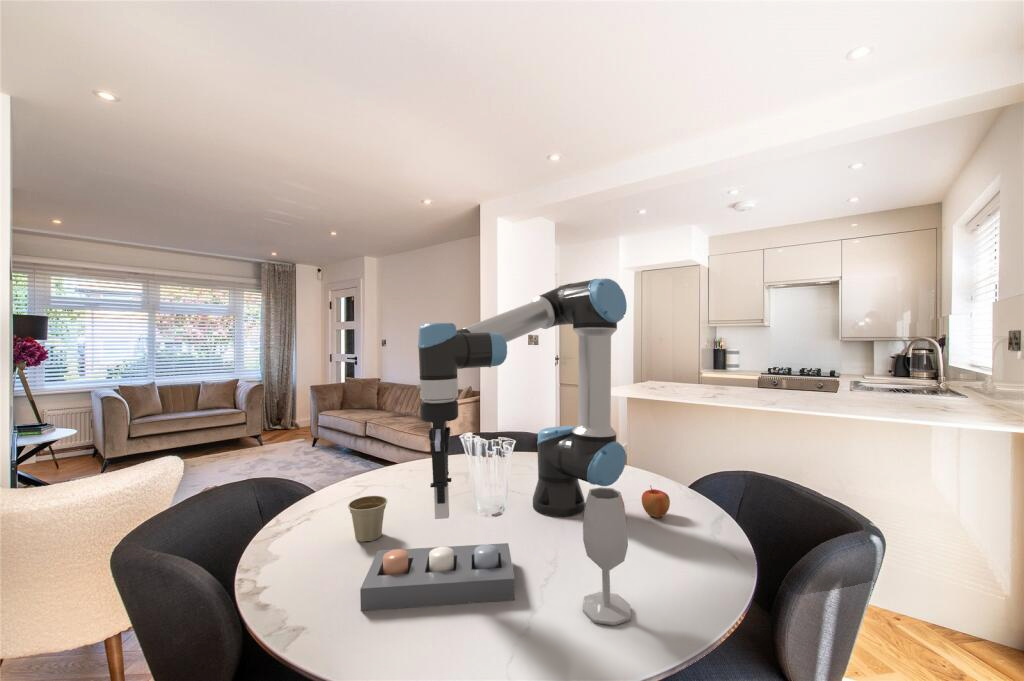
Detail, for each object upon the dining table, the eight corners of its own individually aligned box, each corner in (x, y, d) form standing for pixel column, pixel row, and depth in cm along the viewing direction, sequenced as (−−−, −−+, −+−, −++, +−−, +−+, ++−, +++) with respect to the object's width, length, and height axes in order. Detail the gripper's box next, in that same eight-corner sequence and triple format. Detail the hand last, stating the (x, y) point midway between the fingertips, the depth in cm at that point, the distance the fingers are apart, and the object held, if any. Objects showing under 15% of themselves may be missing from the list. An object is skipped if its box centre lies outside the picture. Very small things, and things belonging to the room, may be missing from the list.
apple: (661, 524, 110) (660, 493, 110) (636, 516, 115) (636, 486, 115) (675, 516, 115) (674, 487, 115) (650, 508, 120) (650, 480, 120)
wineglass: (576, 597, 79) (574, 485, 79) (621, 594, 80) (620, 483, 80) (589, 629, 70) (587, 503, 70) (639, 625, 71) (637, 501, 71)
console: (508, 561, 92) (508, 543, 92) (514, 600, 78) (514, 578, 78) (378, 569, 90) (378, 550, 90) (360, 610, 76) (360, 588, 76)
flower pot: (375, 547, 100) (375, 510, 100) (340, 544, 102) (339, 508, 102) (394, 530, 109) (394, 496, 109) (361, 527, 111) (361, 494, 111)
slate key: (497, 562, 88) (497, 543, 88) (499, 575, 83) (498, 555, 83) (474, 564, 87) (474, 545, 87) (474, 577, 82) (474, 556, 82)
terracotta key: (410, 568, 86) (409, 548, 86) (406, 581, 81) (405, 560, 81) (386, 569, 86) (385, 550, 86) (380, 583, 81) (380, 562, 81)
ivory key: (454, 565, 87) (454, 546, 87) (453, 578, 82) (452, 558, 82) (430, 567, 86) (430, 547, 86) (428, 580, 82) (427, 559, 82)
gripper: (424, 396, 91) (426, 505, 91) (415, 405, 78) (418, 533, 78) (459, 395, 91) (461, 503, 91) (456, 404, 78) (459, 530, 78)
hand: (442, 517), depth 84 cm, fingers closed
